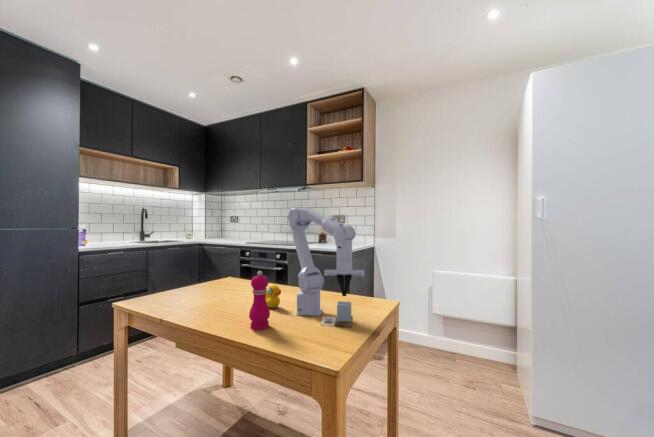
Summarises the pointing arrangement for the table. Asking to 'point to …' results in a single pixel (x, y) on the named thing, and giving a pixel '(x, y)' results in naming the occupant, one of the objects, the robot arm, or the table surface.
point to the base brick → (344, 323)
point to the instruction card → (328, 321)
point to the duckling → (273, 296)
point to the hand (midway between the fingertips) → (344, 295)
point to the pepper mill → (259, 303)
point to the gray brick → (344, 311)
